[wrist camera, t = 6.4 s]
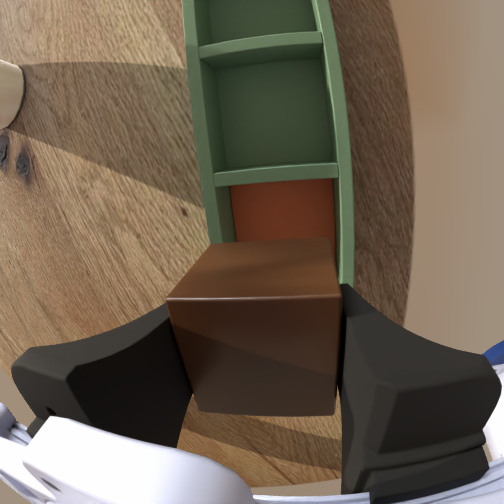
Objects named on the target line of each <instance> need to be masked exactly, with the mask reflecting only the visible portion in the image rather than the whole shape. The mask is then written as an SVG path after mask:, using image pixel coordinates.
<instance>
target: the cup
mask: <svg viewBox="0 0 504 504" xmlns="http://www.w3.org/2000/svg"><path fill="white" fill-rule="evenodd" d="M24 92H25V79H24V74H23V71H22V70H21V69H20V68H19V67H18V66H17V65H13V64H10V63H8V62H6V61H3V60H1V59H0V129H3V128H5V127H7V126H8V125H10V124H11V123H12V121H13V120H14V119H15V118H16V116H17V114H18V112H19V110H20V108H21V105H22V101H23V97H24Z"/></svg>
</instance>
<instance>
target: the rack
mask: <svg viewBox="0 0 504 504" xmlns="http://www.w3.org/2000/svg"><path fill="white" fill-rule="evenodd" d="M182 12H183V25H184V37H185V49H186V59H187V70H188V80H189V89H190V99H191V107H192V116H193V125H194V133H195V141H196V149H197V157H198V164H199V171H200V179H201V186H202V193H203V200H204V207H205V213H206V220H207V226H208V233H209V239H210V245H211V244H215V243H231V242H247V241H264V240H282V239H299V238H318V237H327V238H328V239H329V242H330V246H331V250H332V254H333V258H334V262H335V267H336V271H337V275H338V279H339V284H343V283H348V284H349V285H350V286H351V287H352V288H353V289H354V270H355V218H354V188H353V169H352V154H351V142H350V131H349V121H348V111H347V103H346V95H345V87H344V80H343V73H342V66H341V60H340V54H339V48H338V42H337V37H336V32H335V27H334V22H333V17H332V12H331V8H330V3H329V0H182Z"/></svg>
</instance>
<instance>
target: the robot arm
mask: <svg viewBox="0 0 504 504" xmlns="http://www.w3.org/2000/svg"><path fill="white" fill-rule="evenodd" d="M340 288H341V293H342V322H341V343H340V360H339V373H338V390H339V396H340V403H341V417H342V483H341V495H332V496H269V495H255V494H252V492H251V488H250V487H249V486H248V485H247V484H246V483H245V482H244V481H243V480H242V479H241V478H240V477H239V476H238V475H237V473H236V472H235V471H234V470H232V469H230V468H228V467H226V466H224V465H222V464H220V463H218V462H216V461H214V460H212V459H210V458H208V457H204V456H201V455H197V454H193V453H190V452H186V451H183V450H180V449H177V448H176V447H177V443H178V439H179V435H180V431H181V428H182V424H183V420H184V417H185V414H186V410H187V407H188V404H189V402H190V399H191V396H192V394H193V391H192V388H191V385H190V382H189V379H188V376H187V373H186V370H185V367H184V364H183V361H182V358H181V354H180V351H179V348H178V344H177V341H176V338H175V334H174V331H173V327H172V324H171V320H170V316H169V313H168V309H167V305H166V303H165V304H163V305H161V306H159V307H158V308H156V309H154V310H152V311H150V312H149V313H147V314H145V315H143V316H141V317H139V318H137V319H136V320H133V321H131V322H129V323H127V324H125V325H123V326H120V327H118V328H115V329H113V330H110V331H107V332H104V333H101V334H98V335H95V336H92V337H89V338H85V339H81V340H77V341H73V342H68V343H63V344H56V345H48V346H39V347H31V348H29V349H27V350H26V351H25V352H24V353H23V354H22V355H21V356H20V357H19V358H18V359H17V360H16V361H15V362H14V363H13V364H12V366H11V373H12V377H13V380H14V383H15V384H16V386H17V388H18V390H19V391H20V393H21V394H22V396H23V398H24V399H25V401H26V402H27V404H28V405H29V407H30V408H31V409H32V411H33V412H34V413H35V415H36V416H37V417H36V418H35V420H34V421H33V422H32V423H31V424H30V426H29V427H26V426H24V425H23V424H21V423H19V422H17V421H16V419H15V418H14V416H13V415H12V413H11V412H10V411H9V409H8V408H7V407H6V406H5V405H4V404H2V403H1V402H0V479H1V480H3V481H4V482H5V483H6V484H7V485H9V486H10V487H11V488H12V489H14V490H15V491H16V492H17V493H19V494H20V495H22V496H23V497H24V498H25V499H27V500H28V501H29V502H31V503H32V504H504V364H500V365H494V366H492V365H491V364H490V362H489V360H488V359H487V358H486V356H485V355H480V354H475V353H470V352H466V351H461V350H456V349H453V348H450V347H447V346H444V345H440V344H438V343H435V342H432V341H429V340H427V339H425V338H423V337H421V336H418V335H416V334H414V333H412V332H410V331H408V330H406V329H405V328H403V327H401V326H400V325H398V324H396V323H394V322H393V321H391V320H390V319H388V318H387V317H386V316H384V315H383V314H382V313H380V312H379V311H378V310H376V309H375V308H374V307H373V306H371V305H370V304H369V303H368V302H367V301H366V300H365V299H364V298H362V297H361V296H360V295H359V294H358V293H357V292H356V291H355V290H354V289H353V288H352V287H351V286H350V285H349V284H348V283H343V284H340ZM485 443H487V445H488V448H489V450H490V454H491V456H492V459H493V461H492V462H490V463H488V461H487V458H486V456H485V452H484V450H483V447H482V445H484V444H485Z"/></svg>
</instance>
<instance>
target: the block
mask: <svg viewBox="0 0 504 504" xmlns="http://www.w3.org/2000/svg"><path fill="white" fill-rule="evenodd" d="M166 305H167V309H168V313H169V316H170V320H171V324H172V327H173V331H174V334H175V338H176V341H177V344H178V348H179V351H180V354H181V358H182V361H183V364H184V367H185V370H186V373H187V376H188V379H189V382H190V385H191V388H192V391H193V394H194V397H195V400H196V403H197V406H198V409H199V411H201V412H209V413H220V414H232V415H248V416H278V417H302V416H332V415H334V413H335V406H336V396H337V385H338V373H339V360H340V343H341V322H342V293H341V288H340V284H339V279H338V275H337V271H336V267H335V262H334V258H333V254H332V250H331V246H330V242H329V239H328V238H327V237H318V238H299V239H282V240H264V241H247V242H231V243H215V244H211V245H210V246H209V247H208V248H207V249H206V251H205V252H204V253H203V254H202V255H201V256H200V258H199V259H198V260H197V261H196V262H195V264H194V265H193V266H192V267H191V268H190V270H189V271H188V272H187V273H186V274H185V276H184V277H183V278H182V279H181V280H180V282H179V283H178V284H177V285H176V286H175V288H174V289H173V290H172V291H171V293H170V294H169V295H168V296H167V297H166Z"/></svg>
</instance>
